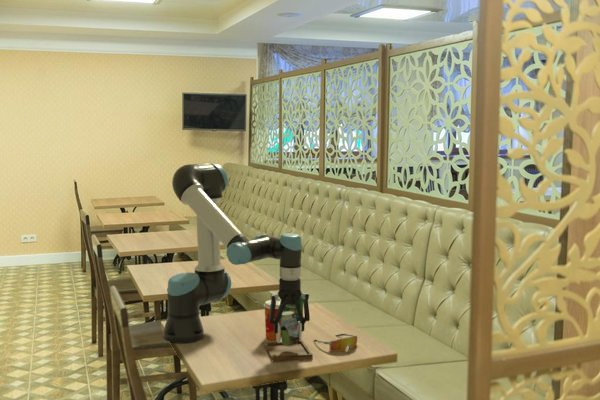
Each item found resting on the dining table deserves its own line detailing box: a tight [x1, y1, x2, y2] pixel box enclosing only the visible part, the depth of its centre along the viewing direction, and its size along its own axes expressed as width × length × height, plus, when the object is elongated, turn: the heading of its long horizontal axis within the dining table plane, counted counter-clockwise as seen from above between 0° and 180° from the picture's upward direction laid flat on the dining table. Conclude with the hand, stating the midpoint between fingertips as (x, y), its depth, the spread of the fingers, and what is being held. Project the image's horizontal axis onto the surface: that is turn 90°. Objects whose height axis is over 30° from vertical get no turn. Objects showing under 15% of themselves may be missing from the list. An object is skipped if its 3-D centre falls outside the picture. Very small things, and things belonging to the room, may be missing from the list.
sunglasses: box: [313, 333, 358, 352], centre depth 243 cm, size 14×15×5 cm
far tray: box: [264, 339, 313, 363], centre depth 233 cm, size 14×14×2 cm
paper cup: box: [263, 299, 282, 342], centre depth 247 cm, size 8×8×14 cm
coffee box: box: [283, 296, 304, 327], centre depth 263 cm, size 8×3×13 cm, turn 70°
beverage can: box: [279, 311, 299, 346], centre depth 231 cm, size 6×7×12 cm
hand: (288, 340), depth 232 cm, fingers closed on beverage can, 7 cm apart
